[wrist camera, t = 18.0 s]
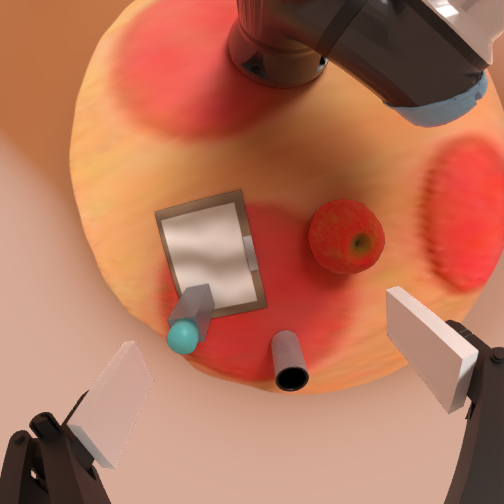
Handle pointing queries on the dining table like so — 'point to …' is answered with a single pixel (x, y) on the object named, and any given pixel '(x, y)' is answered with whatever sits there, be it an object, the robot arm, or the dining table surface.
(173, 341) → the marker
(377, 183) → the dining table surface
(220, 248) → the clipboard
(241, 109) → the dining table surface
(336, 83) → the dining table surface
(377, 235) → the apple
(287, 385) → the grey hollow cylinder
